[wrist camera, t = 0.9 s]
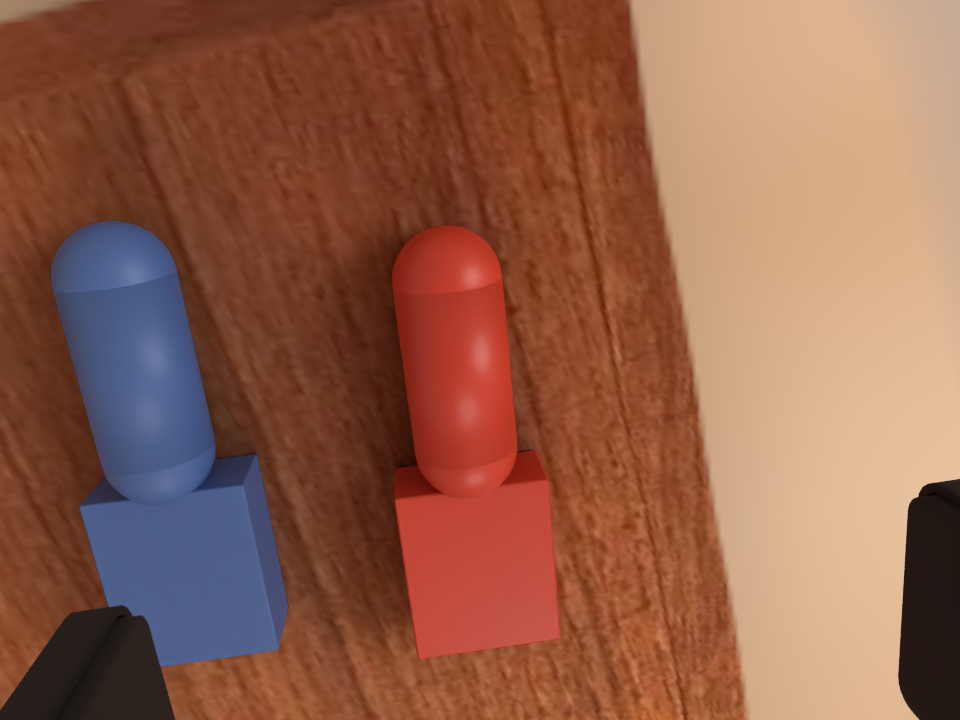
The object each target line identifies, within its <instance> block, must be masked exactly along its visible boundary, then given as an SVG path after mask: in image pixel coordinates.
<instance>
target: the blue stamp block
mask: <svg viewBox="0 0 960 720" xmlns="http://www.w3.org/2000/svg"><path fill="white" fill-rule="evenodd" d="M51 284H52V290H53V294H54V297H55V301H56V304H57V308H58V312H59V315H60V319H61V322H62V326H63V330H64V333H65V337H66V341H67V344H68V348H69V351H70V355H71V359H72V362H73V366H74V369H75V373H76V377H77V380H78V384H79V387H80V391H81V395H82V398H83V402H84V406H85V409H86V413H87V416H88V420H89V424H90V427H91V431H92V434H93V438H94V442H95V445H96V449H97V452H98V456H99V460H100V463H101V467H102V469H103V472H104V474H105V477H104V478H103V479H102V480H101V481H100V483H99V484H98V485H97V486H96V487H95V488H94V490H93V491H92V492H91V493H90V494H89V495H88V497H87V498H86V499H85V500H84V501H83V502H82V504H81V505H80V506H79V508H80V512H81V515H82V518H83V522H84V525H85V529H86V532H87V536H88V539H89V542H90V546H91V549H92V553H93V556H94V560H95V563H96V566H97V570H98V573H99V577H100V580H101V583H102V587H103V590H104V594H105V597H106V601H107V604H108V607H113V606H120V605H123V606H125V607H127V608H128V609H129V611H130V612H131V614H132V616H138V615H141V616H144V617H145V619H146V620H147V622H148V625H149V627H150V631H151V635H152V638H153V642H154V645H155V649H156V653H157V656H158V660H159V663H160V667H163V666H170V665H177V664H184V663H191V662H198V661H205V660H212V659H219V658H226V657H233V656H240V655H247V654H254V653H261V652H268V651H275V650H278V649H279V645H280V641H281V636H282V632H283V628H284V624H285V620H286V616H287V612H288V608H289V607H288V602H287V597H286V592H285V587H284V583H283V578H282V573H281V568H280V563H279V558H278V554H277V549H276V544H275V539H274V534H273V529H272V524H271V520H270V515H269V510H268V505H267V500H266V495H265V491H264V486H263V481H262V476H261V471H260V466H259V462H258V457H257V454H252V455H244V456H236V457H229V458H221V459H215V453H216V446H215V437H214V433H213V428H212V424H211V419H210V415H209V410H208V406H207V401H206V397H205V392H204V388H203V383H202V379H201V375H200V370H199V366H198V361H197V357H196V352H195V348H194V343H193V339H192V334H191V330H190V325H189V321H188V316H187V312H186V307H185V303H184V299H183V294H182V290H181V285H180V281H179V276H178V272H177V268H176V265H175V262H174V259H173V257H172V255H171V254H170V252H169V250H168V248H167V247H166V246H165V245H164V244H163V243H162V242H161V240H160V239H158V238H157V237H156V236H155V235H153V234H152V233H151V232H149V231H147V230H146V229H144V228H142V227H140V226H137V225H134V224H131V223H128V222H122V221H101V222H96V223H91V224H89V225H86V226H84V227H82V228H80V229H78V230H77V231H75V232H74V233H72V234H71V235H69V236H68V237H67V239H66V240H65V241H64V242H63V243H62V244H61V245H60V247H59V249H58V250H57V252H56V254H55V256H54V259H53V263H52V266H51Z"/></svg>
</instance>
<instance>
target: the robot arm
mask: <svg viewBox="0 0 960 720" xmlns="http://www.w3.org/2000/svg"><path fill="white" fill-rule="evenodd" d="M898 676H899V677H898V678H899V686H900V690H901V692H902V695H903V698H904V700H905V702H906V703H907V705H908V706H909V708H910V709H911V711H913V713H914V714H915V715H916V716H917V717H918V718H919V720H960V479H957V480H950V481H945V482H938V483H931V484H927V485H925V486H924V487H923V488H922V489H921V491H920V493H919V496H918V497H917V498H914V499H913V500H912V501H911V503H910V504H909V508H908V519H907V536H906V554H905V571H904V587H903V604H902V621H901V638H900V657H899V674H898ZM0 720H175V718H174V714H173V710H172V707H171V703H170V700H169V696H168V692H167V689H166V685H165V682H164V678H163V674H162V671H161V667H160V663H159V660H158V656H157V653H156V649H155V645H154V642H153V638H152V635H151V631H150V627H149V625H148V622H147V620H146V619H145V617H144V616H141V615H138V616H132V614H131V612H130V611H129V609H128V608H127V607H125V606H123V605H120V606H113V607H106V608H100V609H93V610H86V611H80V612H74V613H71V614H69V615H68V616H67V617H66V618H65V619H64V621H63V622H62V624H61V625H60V627H59V628H58V629H57V631H56V632H55V634H54V635H53V636H52V638H51V639H50V641H49V642H48V644H47V645H46V646H45V648H44V649H43V651H42V652H41V653H40V655H39V656H38V658H37V659H36V661H35V662H34V663H33V665H32V666H31V668H30V669H29V671H28V672H27V673H26V675H25V676H24V678H23V679H22V680H21V682H20V683H19V685H18V686H17V688H16V689H15V690H14V692H13V693H12V695H11V696H10V697H9V699H8V700H7V702H6V703H5V705H4V706H3V707H2V709H1V710H0Z"/></svg>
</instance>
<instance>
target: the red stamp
mask: <svg viewBox="0 0 960 720" xmlns="http://www.w3.org/2000/svg"><path fill="white" fill-rule="evenodd" d="M392 290H393V297H394V304H395V312H396V319H397V326H398V333H399V341H400V348H401V355H402V363H403V370H404V377H405V385H406V392H407V399H408V407H409V414H410V421H411V429H412V436H413V443H414V450H415V456H416V460H417V464H418V466H410V467H402V468H397V469H395V488H394V504H395V510H396V517H397V524H398V531H399V537H400V544H401V551H402V557H403V564H404V571H405V577H406V584H407V591H408V598H409V604H410V611H411V618H412V624H413V631H414V638H415V645H416V651H417V657H418V659H424V658H431V657H437V656H444V655H451V654H458V653H465V652H472V651H479V650H486V649H492V648H499V647H506V646H513V645H520V644H527V643H534V642H541V641H547V640H554V639H559V638H560V623H559V611H558V598H557V585H556V573H555V560H554V547H553V535H552V522H551V509H550V496H549V484H548V479H547V476H546V474H545V471H544V469H543V466H542V464H541V461H540V459H539V456H538V453H537V451H535V450H533V451H525V452H517V434H516V423H515V412H514V401H513V390H512V379H511V368H510V357H509V346H508V335H507V324H506V313H505V302H504V291H503V280H502V273H501V268H500V264H499V261H498V259H497V256H496V254H495V253H494V251H493V250H492V248H491V247H490V245H489V244H488V243H487V242H486V241H485V240H484V239H483V238H481V237H480V236H478V235H477V234H475V233H474V232H472V231H470V230H468V229H465V228H463V227H458V226H452V225H442V226H435V227H431V228H429V229H426V230H424V231H421V232H420V233H418V234H417V235H415V236H414V237H412V238H411V239H410V240H409V241H408V242H407V243H406V244H405V245H404V247H403V248H402V250H401V251H400V253H399V254H398V256H397V259H396V261H395V264H394V267H393V273H392Z"/></svg>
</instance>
